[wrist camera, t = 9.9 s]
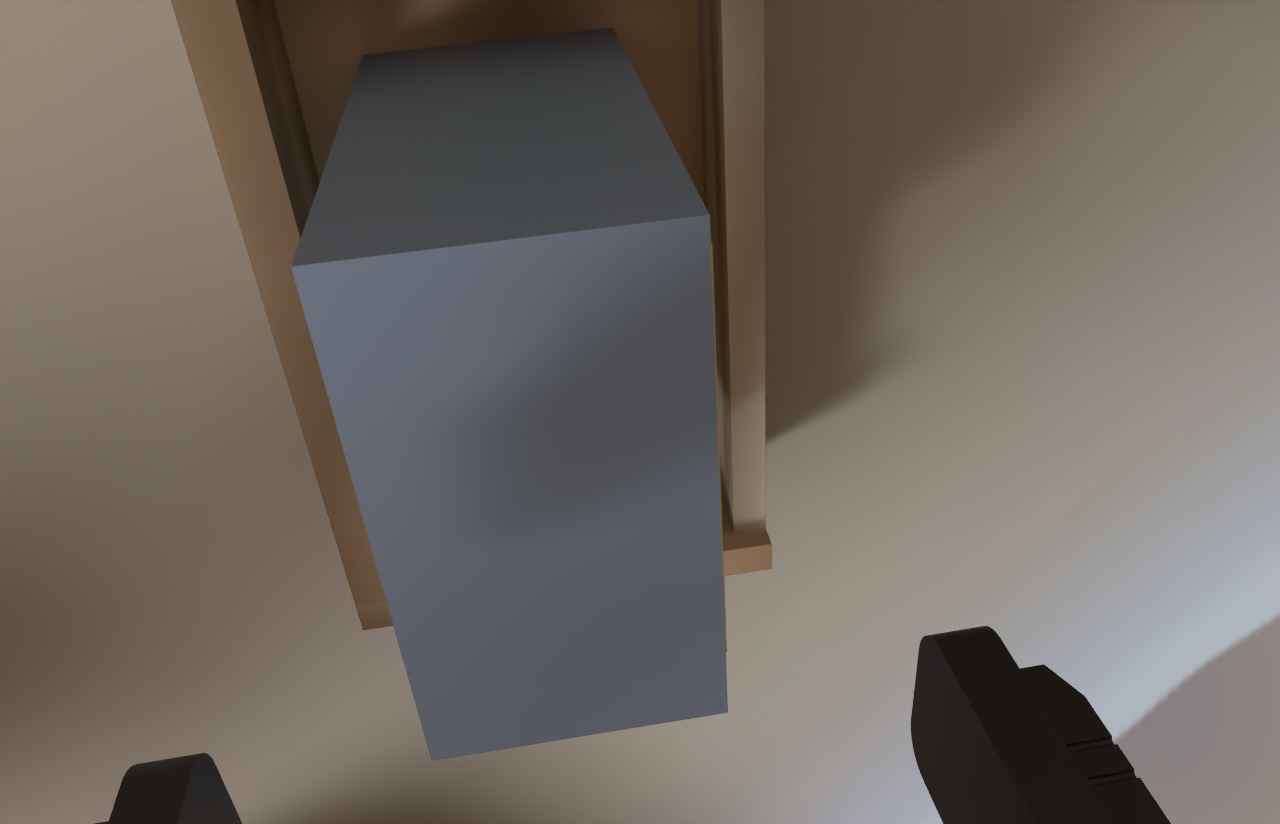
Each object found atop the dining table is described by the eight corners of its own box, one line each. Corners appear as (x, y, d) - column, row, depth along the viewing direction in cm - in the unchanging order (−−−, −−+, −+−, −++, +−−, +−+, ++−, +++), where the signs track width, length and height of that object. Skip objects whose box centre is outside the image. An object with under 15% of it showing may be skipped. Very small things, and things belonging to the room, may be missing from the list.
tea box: (443, 427, 25) (431, 760, 17) (363, 54, 20) (291, 267, 12) (649, 399, 26) (736, 710, 17) (619, 26, 21) (721, 213, 12)
